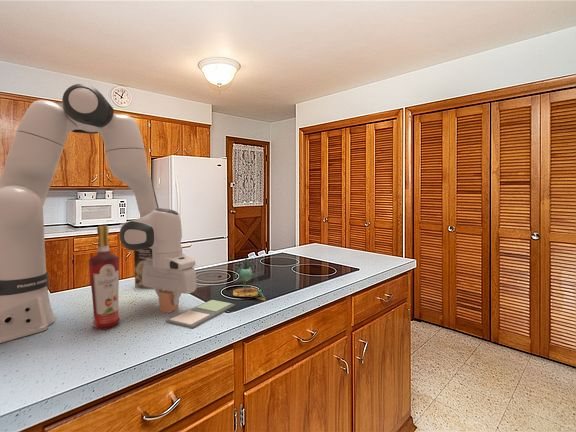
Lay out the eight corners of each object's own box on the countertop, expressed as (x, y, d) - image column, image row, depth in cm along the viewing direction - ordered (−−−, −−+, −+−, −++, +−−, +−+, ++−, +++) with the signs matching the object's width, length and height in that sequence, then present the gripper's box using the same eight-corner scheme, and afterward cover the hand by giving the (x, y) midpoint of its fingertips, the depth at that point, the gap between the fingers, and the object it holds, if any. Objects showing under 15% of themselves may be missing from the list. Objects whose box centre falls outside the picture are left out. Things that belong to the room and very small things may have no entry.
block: (168, 312, 102) (168, 293, 102) (159, 310, 104) (158, 292, 103) (178, 308, 106) (177, 290, 105) (169, 306, 107) (168, 288, 107)
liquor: (117, 318, 97) (113, 224, 95) (124, 326, 92) (121, 226, 90) (89, 325, 92) (84, 226, 90) (94, 333, 87) (90, 228, 85)
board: (192, 328, 90) (192, 325, 90) (165, 322, 94) (165, 319, 94) (235, 306, 108) (235, 303, 108) (210, 301, 112) (210, 299, 112)
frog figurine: (247, 305, 109) (244, 261, 109) (225, 297, 124) (222, 258, 124) (271, 299, 115) (268, 257, 115) (248, 292, 129) (245, 254, 130)
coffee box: (134, 288, 128) (132, 247, 127) (142, 283, 135) (141, 244, 133) (156, 288, 127) (155, 247, 126) (164, 284, 134) (163, 245, 132)
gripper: (136, 259, 105) (137, 301, 106) (184, 265, 96) (185, 311, 97) (152, 255, 111) (153, 295, 112) (199, 261, 102) (200, 304, 103)
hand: (168, 303), depth 105 cm, fingers closed on block, 4 cm apart
